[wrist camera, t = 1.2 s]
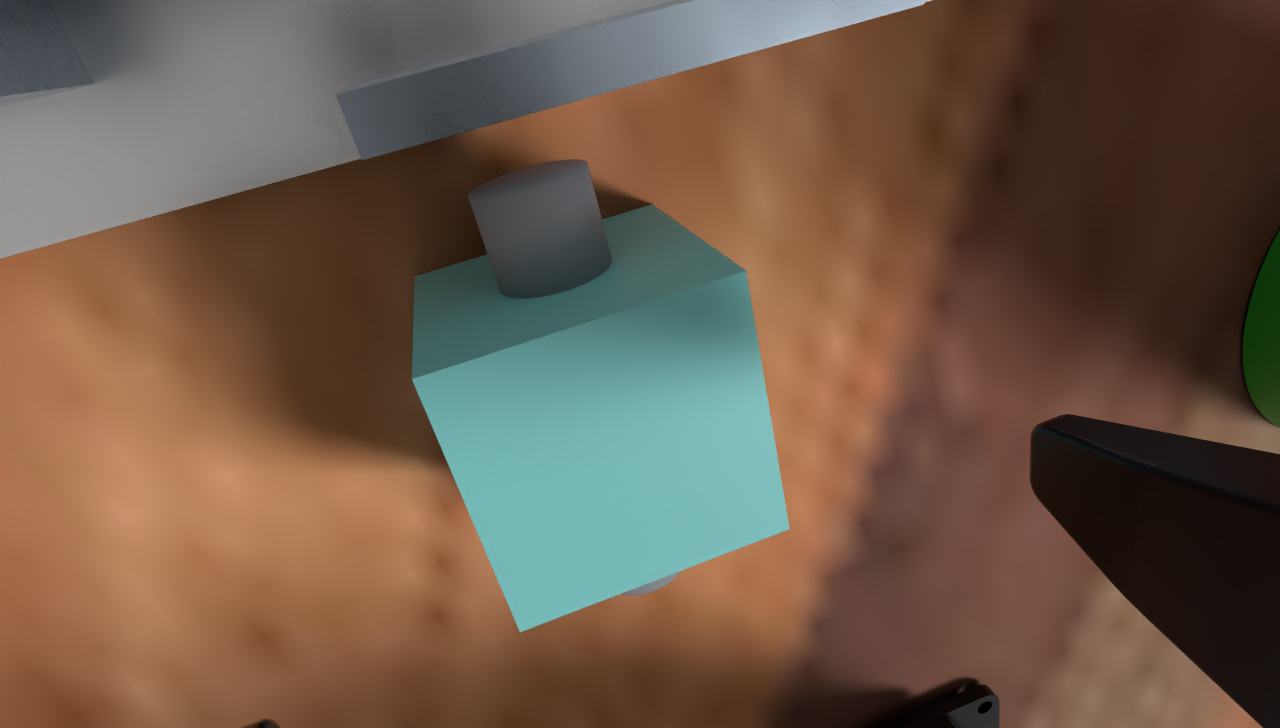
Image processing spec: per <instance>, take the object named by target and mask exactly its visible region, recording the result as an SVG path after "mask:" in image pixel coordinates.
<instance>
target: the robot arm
mask: <svg viewBox="0 0 1280 728" xmlns="http://www.w3.org/2000/svg"><path fill="white" fill-rule="evenodd" d="M1030 483H1031V487H1032V489H1033V492H1034V493H1035V495H1036V497H1037V498H1038V500H1039V501H1040V502H1041V503H1042V504H1043V505H1044V507H1045V508H1046V509H1047V510H1048V511H1049V512H1050V513H1051V515H1052V516H1053V517H1054V518H1055V519H1056V520H1057V521H1058V522H1059V524H1060V525H1061V526H1062V527H1063V528H1064V529H1065V530H1066V532H1067V533H1068V534H1069V535H1070V536H1071V537H1072V538H1073V539H1074V541H1075V542H1076V543H1077V544H1078V545H1079V546H1080V547H1081V548H1082V550H1083V551H1084V552H1085V553H1086V554H1087V555H1088V556H1089V558H1090V559H1091V560H1092V561H1093V562H1094V563H1095V564H1096V565H1097V567H1098V568H1099V569H1100V570H1101V571H1102V572H1103V573H1104V574H1105V576H1106V577H1107V578H1108V579H1109V580H1110V581H1111V582H1112V583H1113V585H1114V586H1115V587H1116V588H1117V589H1118V590H1119V591H1120V592H1121V593H1122V594H1123V595H1124V596H1125V597H1126V598H1127V599H1128V600H1129V601H1130V602H1131V603H1132V604H1133V605H1134V606H1135V607H1136V608H1137V609H1138V610H1139V611H1140V612H1141V613H1142V614H1143V615H1144V616H1145V617H1146V618H1147V619H1148V620H1149V621H1150V622H1151V623H1152V624H1153V625H1154V626H1155V627H1156V628H1158V629H1159V630H1160V631H1161V632H1162V633H1163V634H1164V635H1165V636H1166V637H1167V638H1168V639H1169V640H1170V641H1171V642H1172V643H1173V644H1175V645H1176V646H1177V647H1178V648H1179V649H1180V650H1181V651H1182V652H1183V653H1184V654H1185V655H1186V656H1187V657H1188V658H1189V659H1190V660H1192V661H1193V662H1194V663H1195V664H1196V665H1197V666H1198V667H1199V668H1200V669H1201V670H1202V671H1203V672H1204V673H1205V674H1206V675H1207V676H1209V677H1210V678H1211V679H1212V680H1213V681H1214V682H1215V683H1216V684H1217V685H1218V686H1219V687H1220V688H1221V689H1222V690H1223V691H1224V692H1226V693H1227V694H1228V695H1229V696H1230V697H1231V698H1232V699H1233V700H1234V701H1235V702H1236V703H1237V704H1238V705H1239V706H1240V707H1241V708H1243V709H1244V710H1245V711H1246V712H1247V713H1248V714H1249V715H1250V716H1251V717H1252V718H1253V719H1254V720H1255V721H1256V722H1257V723H1258V724H1260V725H1261V726H1262V727H1263V728H1280V454H1275V453H1270V452H1265V451H1260V450H1254V449H1249V448H1244V447H1239V446H1233V445H1228V444H1223V443H1218V442H1212V441H1207V440H1202V439H1197V438H1192V437H1186V436H1181V435H1176V434H1171V433H1165V432H1160V431H1155V430H1150V429H1144V428H1139V427H1134V426H1129V425H1123V424H1118V423H1113V422H1108V421H1103V420H1097V419H1092V418H1087V417H1082V416H1076V415H1070V414H1066V415H1060V416H1058V417H1055V418H1052V419H1050V420H1047V421H1044V422H1042V423H1039V424H1037V425H1036V426H1035V427H1034V429H1033V430H1032V432H1031V441H1030ZM241 728H280V726H279V725H278V724H277V723H276V722H275V721H273V720H271V719H263V720H260V721H257V722H254V723H252V724H249V725H247V726H244V727H241ZM881 728H999V699H998V697H997V696H996V694H995V693H994V692H993V691H992V690H991V689H990V688H989V687H988V686H987V685H978V686H975V687H973V688H970V689H968V690H966V691H963V692H961V693H959V694H957V695H954V696H952V697H950V698H947V699H945V700H943V701H940V702H938V703H936V704H934V705H931V706H929V707H927V708H924V709H922V710H920V711H918V712H915V713H913V714H911V715H908V716H906V717H904V718H901V719H899V720H897V721H895V722H892V723H890V724H888V725H885V726H883V727H881Z"/></svg>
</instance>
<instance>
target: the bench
mask: <svg viewBox="0 0 1280 728" xmlns="http://www.w3.org/2000/svg"><path fill="white" fill-rule="evenodd" d="M928 1H932V0H0V259H1V258H4V257H8V256H11V255H15V254H19V253H22V252H26V251H29V250H33V249H37V248H40V247H44V246H48V245H51V244H55V243H58V242H62V241H66V240H69V239H73V238H76V237H80V236H84V235H87V234H91V233H94V232H98V231H102V230H105V229H109V228H112V227H116V226H120V225H123V224H127V223H131V222H134V221H138V220H141V219H145V218H149V217H152V216H156V215H159V214H163V213H167V212H170V211H174V210H177V209H181V208H185V207H188V206H192V205H196V204H199V203H203V202H206V201H210V200H214V199H217V198H221V197H224V196H228V195H232V194H235V193H239V192H242V191H246V190H250V189H253V188H257V187H260V186H264V185H268V184H271V183H275V182H279V181H282V180H286V179H289V178H293V177H297V176H300V175H304V174H307V173H311V172H315V171H318V170H322V169H325V168H329V167H333V166H336V165H340V164H343V163H347V162H351V161H354V160H358V159H361V160H365V159H369V158H373V157H376V156H380V155H384V154H387V153H391V152H394V151H398V150H402V149H405V148H409V147H412V146H416V145H420V144H423V143H427V142H430V141H434V140H438V139H441V138H445V137H448V136H452V135H456V134H459V133H463V132H466V131H470V130H474V129H477V128H481V127H484V126H488V125H492V124H495V123H499V122H502V121H506V120H510V119H513V118H517V117H520V116H524V115H528V114H531V113H535V112H538V111H542V110H546V109H549V108H553V107H557V106H560V105H564V104H567V103H571V102H575V101H578V100H582V99H585V98H589V97H593V96H596V95H600V94H603V93H607V92H611V91H614V90H618V89H621V88H625V87H629V86H632V85H636V84H639V83H643V82H647V81H650V80H654V79H657V78H661V77H665V76H668V75H672V74H675V73H679V72H683V71H686V70H690V69H693V68H697V67H701V66H704V65H708V64H711V63H715V62H719V61H722V60H726V59H729V58H733V57H737V56H740V55H744V54H748V53H751V52H755V51H758V50H762V49H766V48H769V47H773V46H776V45H780V44H784V43H787V42H791V41H794V40H798V39H802V38H805V37H809V36H812V35H816V34H820V33H823V32H827V31H830V30H834V29H838V28H841V27H845V26H848V25H852V24H856V23H859V22H863V21H866V20H870V19H874V18H877V17H881V16H884V15H888V14H892V13H895V12H899V11H902V10H906V9H910V8H913V7H917V6H920V5H924V3H925V2H928Z"/></svg>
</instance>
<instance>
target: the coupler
mask: <svg viewBox="0 0 1280 728" xmlns="http://www.w3.org/2000/svg"><path fill="white" fill-rule="evenodd" d="M468 198H469V201H470V204H471V207H472V210H473V213H474V216H475V219H476V222H477V225H478V228H479V231H480V234H481V237H482V239H483V242H484V245H485V248H486V251H487V255H483V256H480V257H477V258H473V259H470V260H467V261H464V262H460V263H457V264H454V265H450V266H447V267H444V268H441V269H437V270H434V271H431V272H427V273H424V274H421V275H418V276H415V286H414V321H413V356H412V381H413V383H414V385H415V388H416V390H417V393H418V395H419V397H420V400H421V402H422V404H423V407H424V409H425V411H426V414H427V416H428V418H429V421H430V423H431V425H432V428H433V430H434V432H435V435H436V437H437V439H438V442H439V444H440V446H441V449H442V451H443V453H444V456H445V458H446V460H447V463H448V465H449V467H450V470H451V472H452V474H453V477H454V479H455V481H456V484H457V486H458V488H459V491H460V493H461V495H462V498H463V500H464V502H465V505H466V507H467V509H468V512H469V514H470V516H471V519H472V521H473V523H474V526H475V528H476V530H477V533H478V535H479V537H480V540H481V542H482V545H483V547H484V549H485V552H486V554H487V556H488V559H489V561H490V563H491V566H492V568H493V570H494V573H495V575H496V577H497V580H498V582H499V584H500V587H501V589H502V591H503V594H504V596H505V598H506V601H507V603H508V605H509V608H510V610H511V612H512V615H513V617H514V619H515V622H516V624H517V626H518V629H519V631H520V632H522V631H525V630H527V629H530V628H533V627H535V626H538V625H540V624H543V623H546V622H548V621H551V620H554V619H556V618H559V617H561V616H564V615H567V614H569V613H572V612H574V611H577V610H580V609H582V608H585V607H587V606H590V605H593V604H595V603H598V602H601V601H603V600H606V599H608V598H611V597H614V596H616V595H619V594H623V595H639V594H645V593H649V592H652V591H655V590H657V589H659V588H661V587H663V586H665V585H666V584H668V583H669V582H671V581H672V580H673V579H674V578H675V577H676V576H677V575H678V574H679V573H680V572H681V570H684V569H687V568H689V567H692V566H695V565H697V564H700V563H702V562H705V561H708V560H710V559H713V558H715V557H718V556H721V555H723V554H726V553H728V552H731V551H734V550H736V549H739V548H741V547H744V546H747V545H749V544H752V543H755V542H757V541H760V540H762V539H765V538H768V537H770V536H773V535H775V534H778V533H781V532H783V531H786V530H788V529H789V523H788V517H787V511H786V505H785V499H784V493H783V487H782V482H781V476H780V470H779V464H778V458H777V452H776V446H775V440H774V434H773V428H772V422H771V416H770V410H769V404H768V398H767V393H766V387H765V381H764V375H763V369H762V363H761V357H760V351H759V345H758V339H757V333H756V327H755V321H754V315H753V309H752V304H751V298H750V292H749V286H748V280H747V274H746V271H745V270H744V269H743V268H741V267H740V266H738V265H737V264H736V263H734V262H733V261H731V260H730V259H729V258H727V257H726V256H724V255H723V254H722V253H720V252H719V251H717V250H716V249H715V248H713V247H712V246H710V245H709V244H707V243H706V242H705V241H703V240H702V239H700V238H699V237H698V236H696V235H695V234H693V233H692V232H691V231H689V230H688V229H686V228H685V227H684V226H682V225H681V224H679V223H678V222H677V221H675V220H674V219H672V218H671V217H670V216H668V215H667V214H665V213H664V212H663V211H661V210H660V209H658V208H657V207H656V206H654V205H653V204H651V205H648V206H644V207H641V208H638V209H634V210H631V211H628V212H625V213H621V214H618V215H615V216H611V217H608V218H605V219H602V218H601V214H600V210H599V206H598V202H597V199H596V195H595V191H594V187H593V183H592V179H591V175H590V171H589V168H588V164H587V162H586V161H583V160H560V161H553V162H548V163H543V164H538V165H534V166H530V167H526V168H522V169H519V170H515V171H512V172H509V173H506V174H503V175H501V176H498V177H495V178H493V179H491V180H488V181H486V182H484V183H482V184H480V185H478V186H477V187H475V188H473V189H472V190H471V191H470V192H469V193H468Z"/></svg>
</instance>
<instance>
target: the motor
mask: <svg viewBox="0 0 1280 728" xmlns="http://www.w3.org/2000/svg"><path fill="white" fill-rule="evenodd" d="M1243 368H1244V376H1245V380H1246V385H1247V388H1248V391H1249V394H1250V396H1251V398H1252V400H1253V402H1254V404H1255V406H1256V407H1257V409H1258V410H1259V411H1260V413H1261V414H1262V415H1263V416H1264V417H1265V418H1266V419H1267V420H1269V421H1270V422H1271V423H1273V424H1274V425H1276V426H1278V427H1280V230H1279V232H1278V234H1277V236H1276V238H1275V239H1274V241H1273V243H1272V246H1271V248H1270V250H1269V252H1268V254H1267V256H1266V258H1265V261H1264V263H1263V266H1262V268H1261V270H1260V273H1259V276H1258V279H1257V281H1256V284H1255V287H1254V290H1253V294H1252V297H1251V301H1250V304H1249V308H1248V313H1247V318H1246V323H1245V330H1244V338H1243Z"/></svg>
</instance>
